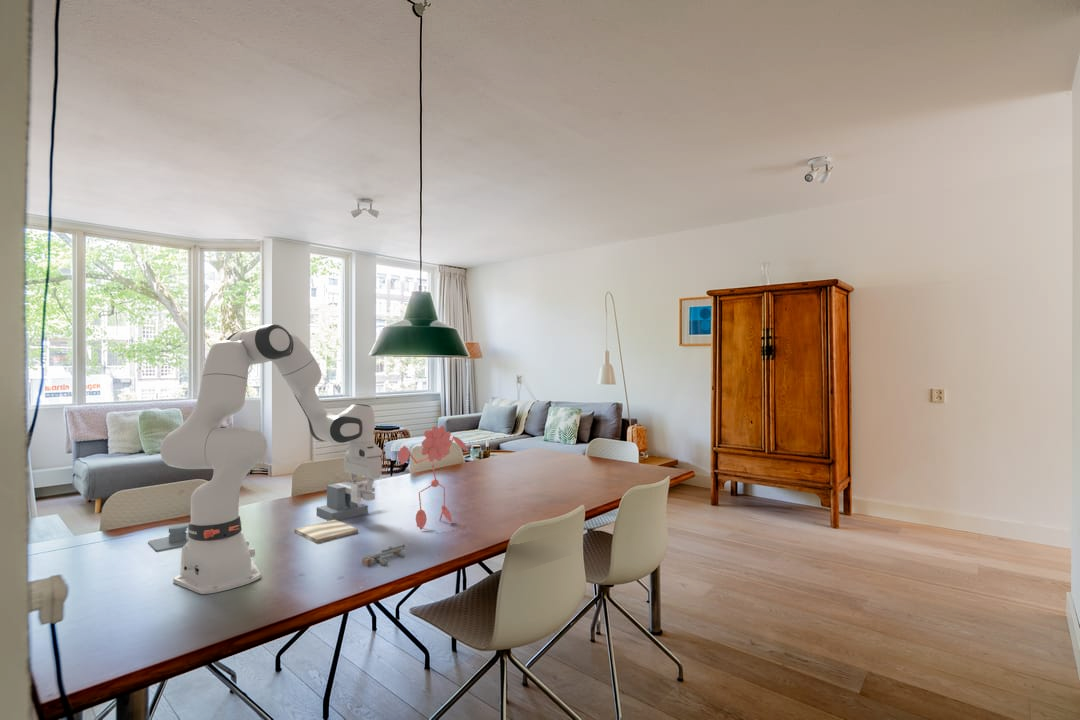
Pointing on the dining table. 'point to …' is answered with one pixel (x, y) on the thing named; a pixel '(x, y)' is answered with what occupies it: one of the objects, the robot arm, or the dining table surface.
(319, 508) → the grey machinist vise
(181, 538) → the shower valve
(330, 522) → the ash board
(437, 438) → the pink stick figure
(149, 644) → the dining table surface
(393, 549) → the clamp
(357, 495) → the white notched block
